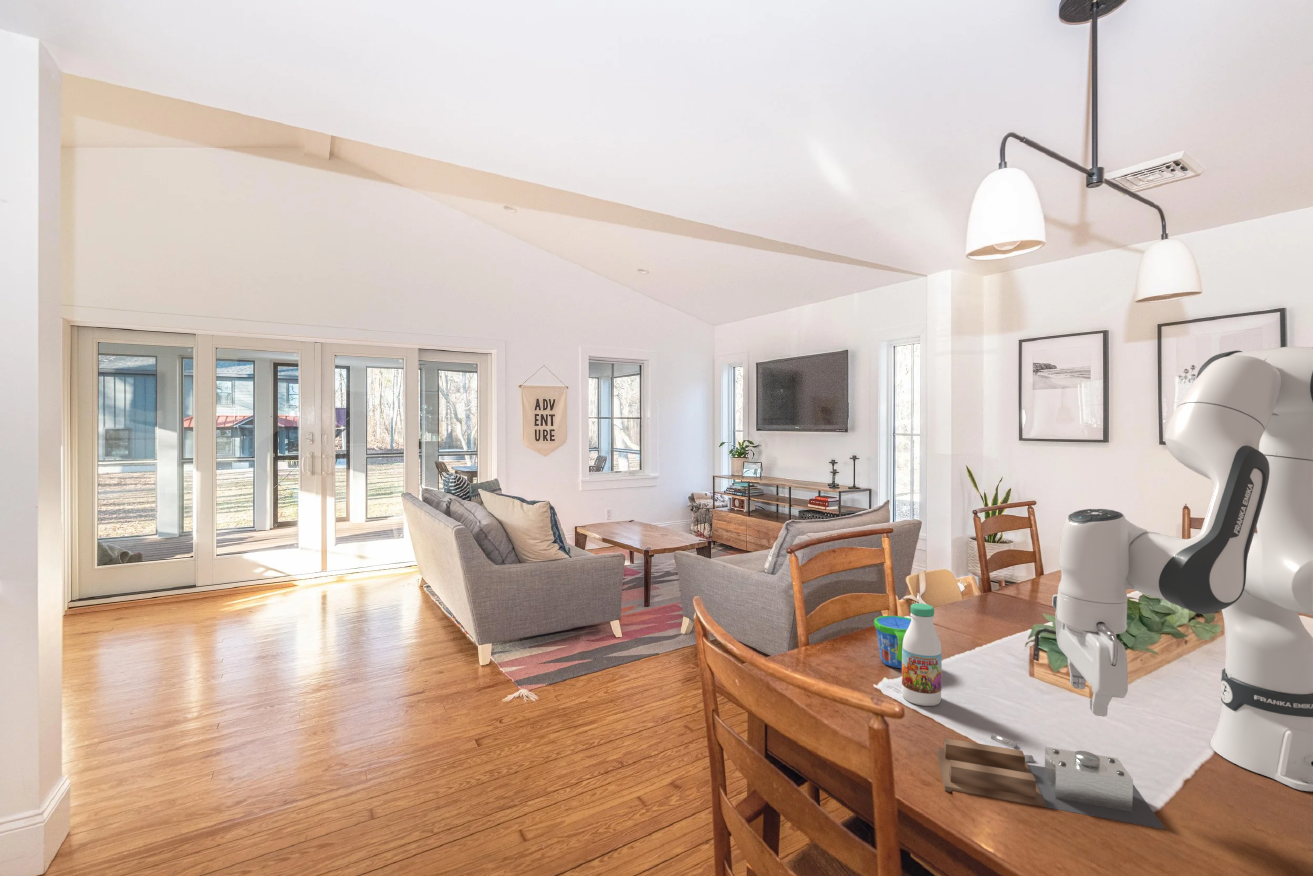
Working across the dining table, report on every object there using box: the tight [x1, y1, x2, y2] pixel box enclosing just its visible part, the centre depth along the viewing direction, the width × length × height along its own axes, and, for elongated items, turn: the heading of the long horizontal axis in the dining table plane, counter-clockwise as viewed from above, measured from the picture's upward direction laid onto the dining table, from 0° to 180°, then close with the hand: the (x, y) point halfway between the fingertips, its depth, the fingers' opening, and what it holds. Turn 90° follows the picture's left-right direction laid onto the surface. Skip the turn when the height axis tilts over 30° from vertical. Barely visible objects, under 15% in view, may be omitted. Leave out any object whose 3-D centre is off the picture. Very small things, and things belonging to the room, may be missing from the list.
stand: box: [936, 737, 1046, 808], centre depth 100 cm, size 14×12×3 cm
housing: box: [1044, 746, 1134, 812], centre depth 95 cm, size 10×6×6 cm, turn 71°
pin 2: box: [1024, 754, 1035, 763], centre depth 105 cm, size 4×1×1 cm, turn 84°
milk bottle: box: [901, 602, 943, 707], centre depth 128 cm, size 8×8×20 cm
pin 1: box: [990, 732, 1018, 749], centre depth 110 cm, size 4×1×1 cm
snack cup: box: [873, 615, 912, 669], centre depth 146 cm, size 16×10×10 cm
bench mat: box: [1027, 763, 1166, 830], centre depth 95 cm, size 16×12×1 cm
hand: (1087, 700), depth 95 cm, fingers open, 8 cm apart
